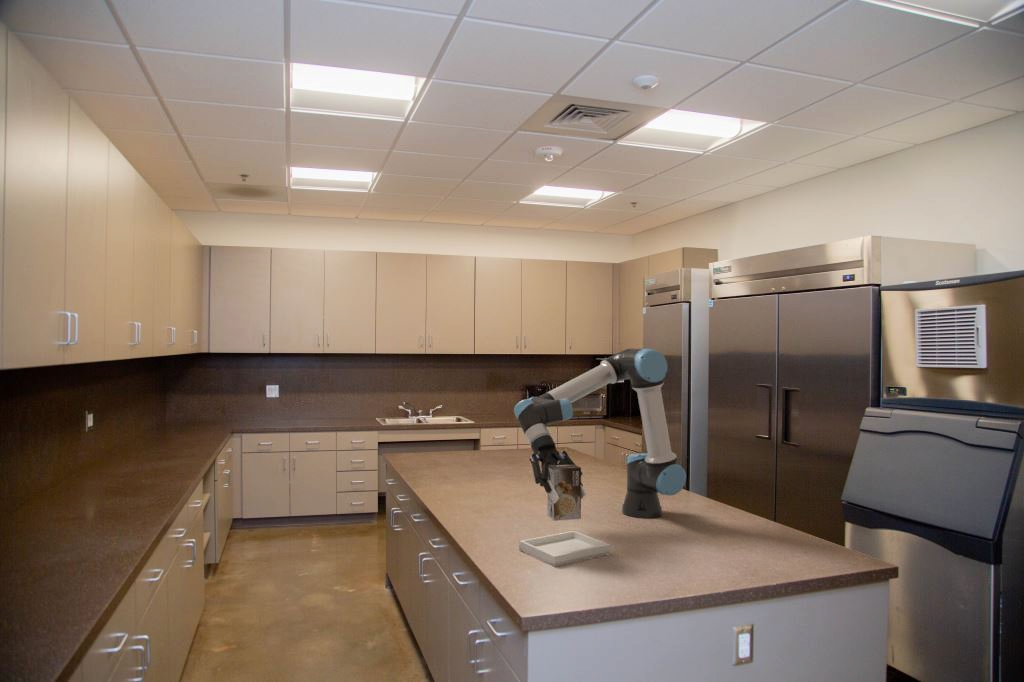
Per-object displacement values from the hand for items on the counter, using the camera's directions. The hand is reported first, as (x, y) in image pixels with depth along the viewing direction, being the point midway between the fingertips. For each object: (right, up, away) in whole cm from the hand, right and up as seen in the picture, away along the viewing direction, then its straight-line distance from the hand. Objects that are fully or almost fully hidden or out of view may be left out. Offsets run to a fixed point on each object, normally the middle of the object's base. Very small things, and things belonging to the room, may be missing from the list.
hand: (570, 498), depth 202 cm
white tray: (-2, -17, +3) cm, 18 cm away
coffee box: (-2, -7, +3) cm, 7 cm away
